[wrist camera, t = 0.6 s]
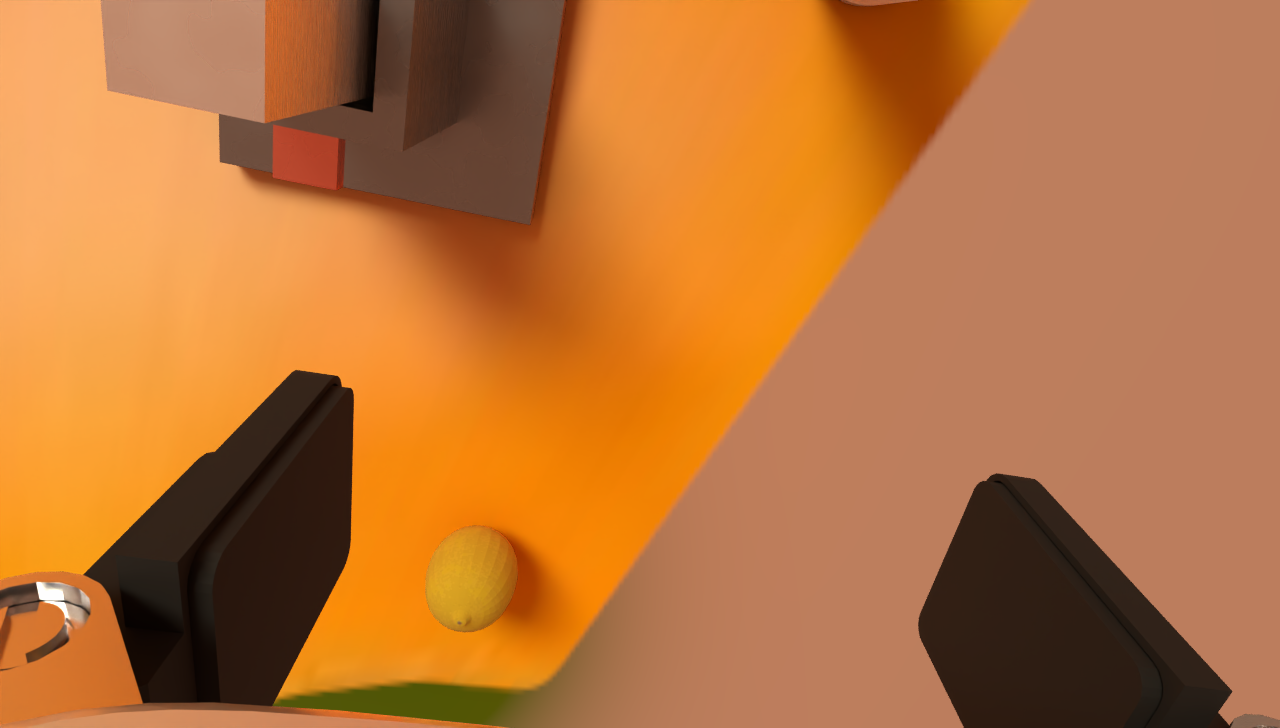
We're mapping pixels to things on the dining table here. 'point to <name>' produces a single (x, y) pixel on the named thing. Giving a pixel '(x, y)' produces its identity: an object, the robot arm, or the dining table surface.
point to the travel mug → (872, 2)
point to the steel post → (242, 53)
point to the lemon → (471, 578)
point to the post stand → (430, 111)
